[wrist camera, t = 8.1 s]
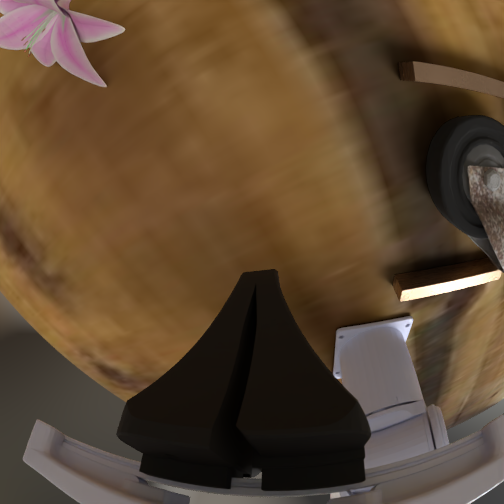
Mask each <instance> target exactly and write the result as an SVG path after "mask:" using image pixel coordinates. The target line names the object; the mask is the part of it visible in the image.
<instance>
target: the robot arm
mask: <svg viewBox="0 0 504 504" xmlns="http://www.w3.org/2000/svg"><path fill="white" fill-rule="evenodd" d="M412 323H413V318H412V316H407V317H402V318H397V319H392V320H386V321H381V322H375V323H369V324H363V325H357V326H350V327H344V328H339V329H338V330H337V331H336V342H335V355H334V367H333V374H332V373H331V372H330V371H329V369H328V368H327V367H326V366H325V364H324V363H323V362H322V361H321V359H320V358H319V357H318V355H317V354H316V353H315V352H314V350H313V349H312V347H311V346H310V344H309V343H308V341H307V340H306V338H305V337H304V335H303V334H302V332H301V330H300V329H299V327H298V325H297V323H296V322H295V320H294V318H293V316H292V314H291V312H290V310H289V308H288V306H287V303H286V301H285V299H284V296H283V294H282V291H281V288H280V283H279V277H278V271H276V270H275V269H271V270H262V271H253V272H244V273H243V274H242V275H241V277H240V279H239V281H238V282H237V284H236V286H235V288H234V290H233V291H232V293H231V295H230V297H229V298H228V300H227V301H226V303H225V305H224V306H223V308H222V310H221V311H220V313H219V314H218V315H217V317H216V318H215V320H214V321H213V322H212V324H211V325H210V327H209V328H208V329H207V331H206V332H205V333H204V334H203V336H202V337H201V338H200V339H199V340H198V342H197V343H196V344H195V345H194V346H193V347H192V348H191V349H190V350H189V352H188V353H187V354H186V355H185V356H184V357H183V358H182V359H181V360H180V361H179V362H178V363H177V364H176V365H174V366H173V367H172V368H171V369H170V370H169V371H167V372H166V373H165V374H164V375H163V376H162V377H160V378H159V379H158V380H157V381H155V382H154V383H153V384H151V385H150V386H149V387H147V388H146V389H144V390H143V391H141V392H140V393H138V394H137V395H135V396H134V397H132V398H131V399H129V400H127V403H126V405H125V408H124V410H123V413H122V417H121V421H120V423H119V427H118V430H117V436H118V438H119V439H120V440H121V441H123V442H124V443H126V444H127V445H129V446H131V447H133V448H135V449H136V450H138V451H140V452H141V453H143V456H142V461H141V462H138V461H134V460H131V459H127V458H124V457H121V456H117V455H114V454H111V453H108V452H105V451H103V450H100V449H97V448H94V447H92V446H89V445H87V444H84V443H81V442H79V441H77V440H75V439H72V438H70V437H67V436H65V435H64V434H63V433H61V432H60V431H59V430H57V429H56V428H54V427H52V426H50V425H48V424H46V423H44V422H42V421H41V420H39V419H38V420H36V423H35V425H34V428H33V431H32V433H31V436H30V439H29V442H28V445H27V448H26V451H25V454H24V457H23V461H24V462H25V463H27V464H28V465H29V466H31V467H32V468H34V469H35V470H36V471H38V472H39V473H40V474H41V475H43V476H44V477H45V478H47V479H48V480H49V481H50V482H52V483H53V484H54V485H55V486H57V487H58V488H59V489H61V490H62V491H64V492H65V493H66V494H68V495H69V496H70V497H72V498H73V499H75V500H76V501H77V502H79V503H81V504H189V502H190V497H189V496H186V495H182V494H178V493H174V492H170V491H167V490H164V489H160V488H157V487H153V486H149V485H148V483H147V481H146V480H149V481H152V482H156V483H160V484H164V485H168V486H173V487H178V488H183V489H188V490H195V491H200V492H207V493H214V494H223V495H234V496H250V497H294V496H309V495H310V496H311V495H321V494H330V493H338V492H339V494H340V496H341V497H339V498H332V499H330V500H329V501H328V502H327V504H470V503H471V502H473V501H474V500H476V499H477V498H479V497H480V496H482V495H484V494H485V493H487V492H488V491H490V490H491V489H493V488H494V487H495V486H497V485H498V484H500V483H501V482H503V481H504V414H502V415H501V416H499V417H497V418H495V419H494V420H492V421H491V422H489V423H488V424H487V425H486V426H484V427H483V428H482V429H481V430H479V431H477V432H475V433H473V434H471V435H469V436H467V437H465V438H463V439H460V440H458V441H456V442H453V443H451V444H449V441H448V436H447V432H446V427H445V423H444V420H443V416H442V412H441V409H440V407H438V406H435V405H434V404H432V405H430V406H428V409H427V407H426V405H425V402H424V400H423V396H422V393H421V389H420V386H419V382H418V379H417V376H416V373H415V369H414V366H413V363H412V360H411V357H410V354H409V351H408V348H407V345H406V343H405V342H406V339H407V337H408V334H409V331H410V328H411V325H412ZM338 378H342V384H341V383H340V382H339V381H338V380H337V379H338ZM428 411H429V413H428ZM429 416H430V417H429ZM260 472H262V479H249V478H251V477H255V476H257V475H258V474H259V473H260ZM243 477H245V478H243Z"/></svg>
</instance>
